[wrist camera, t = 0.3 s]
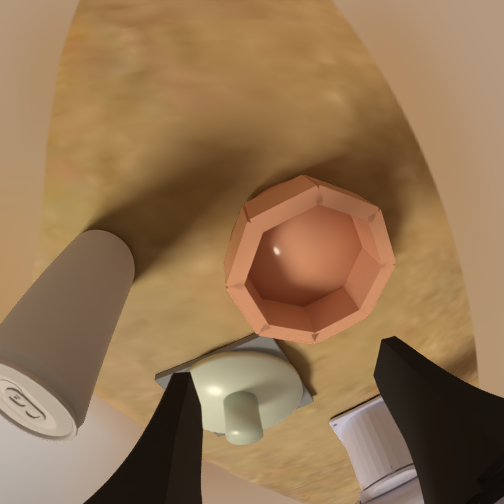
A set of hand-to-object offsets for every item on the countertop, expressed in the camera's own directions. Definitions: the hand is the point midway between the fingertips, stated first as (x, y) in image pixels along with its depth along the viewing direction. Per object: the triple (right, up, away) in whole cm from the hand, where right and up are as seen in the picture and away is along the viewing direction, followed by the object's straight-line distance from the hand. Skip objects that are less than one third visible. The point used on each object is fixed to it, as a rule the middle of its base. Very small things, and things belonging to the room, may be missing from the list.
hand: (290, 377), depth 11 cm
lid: (-2, -7, +13) cm, 15 cm away
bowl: (+2, +5, +9) cm, 10 cm away
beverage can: (-11, +4, +8) cm, 14 cm away
